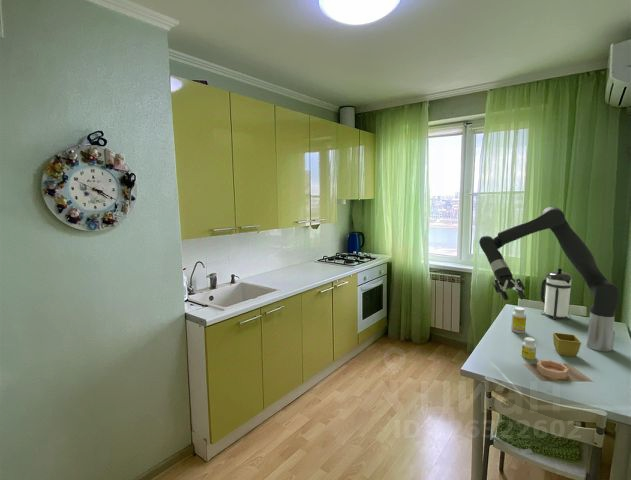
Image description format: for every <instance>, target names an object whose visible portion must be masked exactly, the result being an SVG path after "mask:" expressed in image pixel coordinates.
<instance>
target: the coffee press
mask: <svg viewBox="0 0 631 480" xmlns="http://www.w3.org/2000/svg"><path fill="white" fill-rule="evenodd" d="M545 277H546V279H543V281H542V282H541V286H540V287H541V288H540V289H541V290H540V300H541V302H542V303H543V310H542V311H541V312H540V314H541V315H545V314H546V315H548V316H552V317H553V318H552V320H553V321H557V318H567V320H571V319H572V317H571V315H570V314H569V312H570V305H571V303H570V302H571V296H572V295H571V293H572V286H573V285H572V281H573V277H572V275H571V274H570V273H568V272H565V271H563V269H562V268H561V267H559V268H557V271H556V270H555V271H554V270H553V271H549V272H548V273H547V274H546V276H545ZM543 312H544V313H543ZM568 316H569V317H568Z"/></svg>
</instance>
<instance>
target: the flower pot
mask: <svg viewBox="0 0 631 480" xmlns="http://www.w3.org/2000/svg"><path fill="white" fill-rule="evenodd" d="M552 334H553V335H552V336H553V337H552V338H553V345H554V346H553V347H554V349H555V351H556V352H557V353H558V354H559V356H566V357H576V356H578V353H579V352H580V348H581V345H582V341H581V340H580V339H579V338H578V337H577V336H576V335H575V334H570V333H563V332H553V333H552Z"/></svg>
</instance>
